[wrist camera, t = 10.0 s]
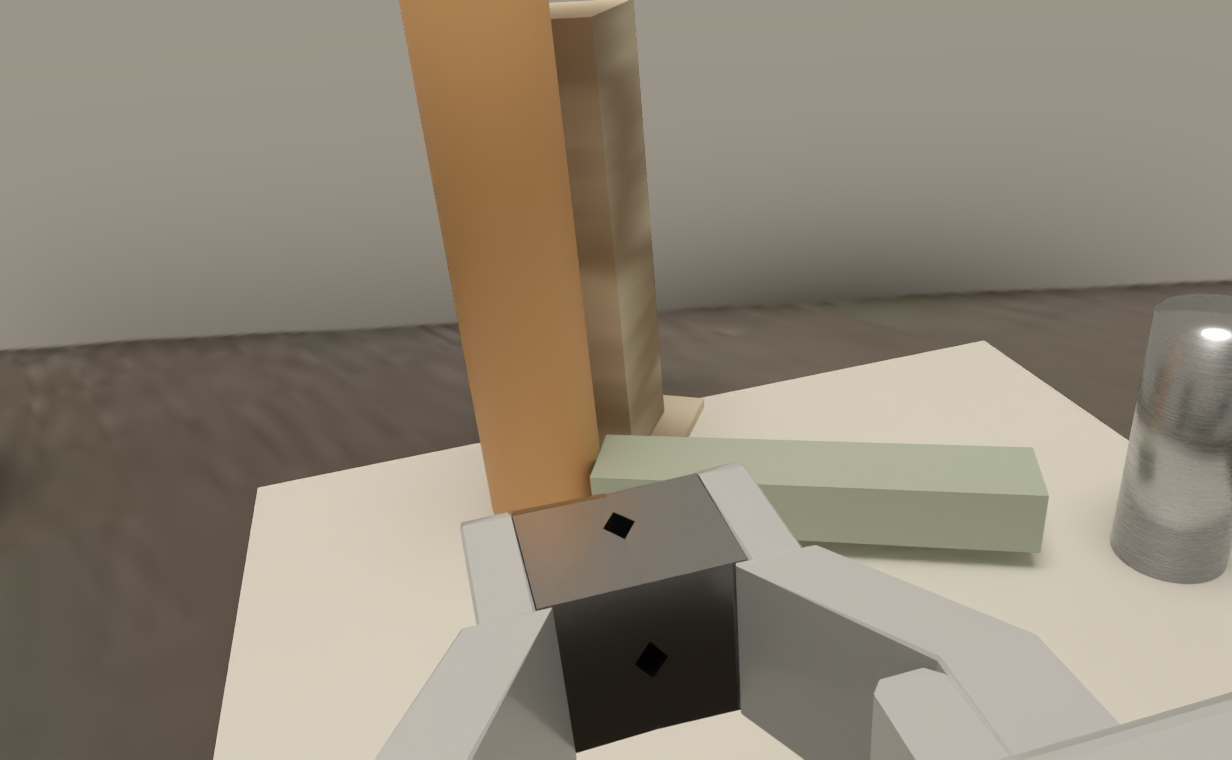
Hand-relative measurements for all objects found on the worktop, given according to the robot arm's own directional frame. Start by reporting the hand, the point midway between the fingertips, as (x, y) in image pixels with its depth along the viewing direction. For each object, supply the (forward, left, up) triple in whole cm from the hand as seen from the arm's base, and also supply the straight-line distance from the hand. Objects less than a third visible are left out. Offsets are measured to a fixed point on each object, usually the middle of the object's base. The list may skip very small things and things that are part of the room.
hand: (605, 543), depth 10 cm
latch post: (-3, -16, -9) cm, 19 cm away
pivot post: (-14, -6, -9) cm, 18 cm away
